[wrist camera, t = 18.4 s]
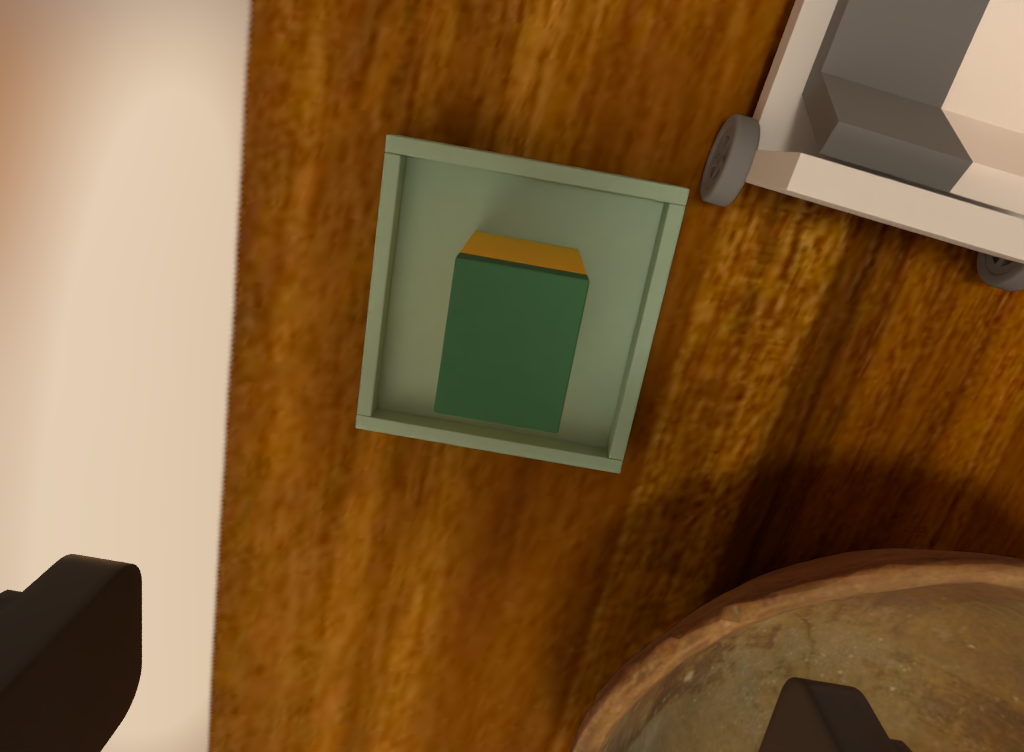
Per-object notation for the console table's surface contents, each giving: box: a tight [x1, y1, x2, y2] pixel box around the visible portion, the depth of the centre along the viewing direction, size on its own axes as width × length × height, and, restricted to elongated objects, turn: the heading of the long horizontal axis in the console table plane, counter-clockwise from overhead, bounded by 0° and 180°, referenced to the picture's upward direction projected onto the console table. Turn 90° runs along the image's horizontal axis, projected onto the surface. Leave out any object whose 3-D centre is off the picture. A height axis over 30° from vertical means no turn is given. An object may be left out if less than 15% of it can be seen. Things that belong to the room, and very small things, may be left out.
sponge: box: [434, 231, 590, 433], centre depth 24 cm, size 5×4×6 cm
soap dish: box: [355, 134, 690, 473], centre depth 27 cm, size 11×11×2 cm
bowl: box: [570, 548, 1024, 752], centre depth 27 cm, size 22×23×10 cm
